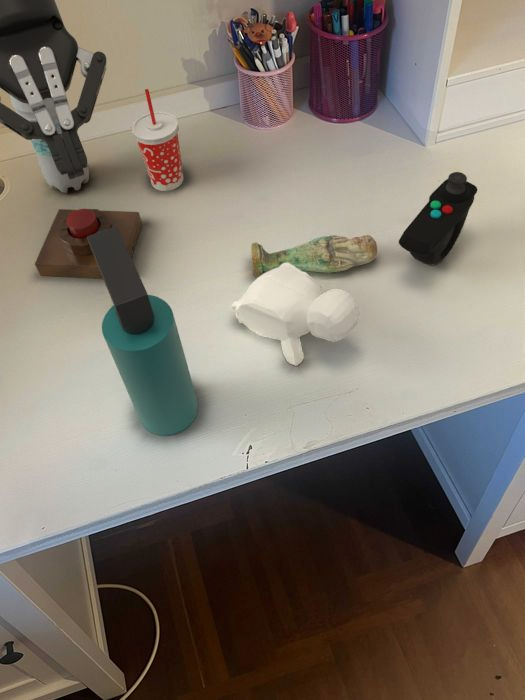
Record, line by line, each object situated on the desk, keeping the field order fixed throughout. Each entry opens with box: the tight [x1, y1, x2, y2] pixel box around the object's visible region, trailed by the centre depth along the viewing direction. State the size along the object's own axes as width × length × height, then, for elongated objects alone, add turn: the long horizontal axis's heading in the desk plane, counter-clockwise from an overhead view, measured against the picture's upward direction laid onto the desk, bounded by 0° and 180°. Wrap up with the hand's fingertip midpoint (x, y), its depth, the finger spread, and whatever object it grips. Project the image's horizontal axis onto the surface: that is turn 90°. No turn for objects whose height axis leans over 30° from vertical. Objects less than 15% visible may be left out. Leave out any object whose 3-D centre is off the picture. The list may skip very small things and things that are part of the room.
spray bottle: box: [87, 227, 199, 436], centre depth 63 cm, size 11×6×20 cm, turn 24°
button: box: [67, 208, 99, 239], centre depth 82 cm, size 4×4×2 cm
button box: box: [34, 208, 143, 280], centre depth 84 cm, size 11×10×4 cm
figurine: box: [250, 234, 378, 277], centre depth 80 cm, size 6×15×4 cm, turn 86°
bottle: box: [9, 94, 90, 194], centre depth 86 cm, size 7×7×20 cm
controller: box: [398, 171, 478, 266], centre depth 77 cm, size 4×12×10 cm, turn 142°
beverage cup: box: [131, 88, 185, 192], centre depth 87 cm, size 6×6×14 cm
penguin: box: [230, 263, 360, 367], centre depth 72 cm, size 9×8×15 cm
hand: (77, 175), depth 60 cm, fingers closed
